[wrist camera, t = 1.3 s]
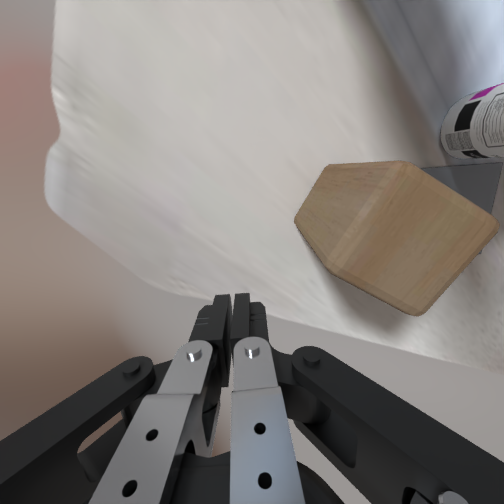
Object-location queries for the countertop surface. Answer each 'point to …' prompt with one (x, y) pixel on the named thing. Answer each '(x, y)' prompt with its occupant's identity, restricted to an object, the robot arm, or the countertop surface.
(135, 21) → the countertop surface
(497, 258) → the countertop surface
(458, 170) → the mat
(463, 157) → the supplement can
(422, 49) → the countertop surface
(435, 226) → the wooden block
